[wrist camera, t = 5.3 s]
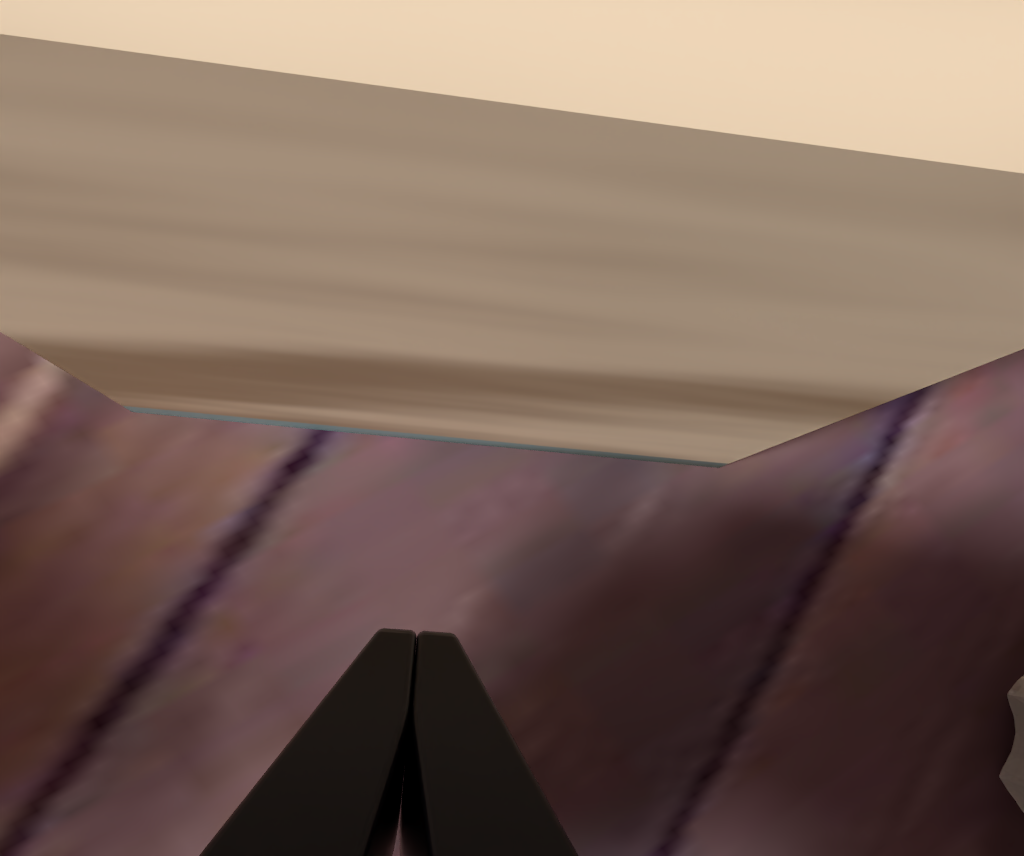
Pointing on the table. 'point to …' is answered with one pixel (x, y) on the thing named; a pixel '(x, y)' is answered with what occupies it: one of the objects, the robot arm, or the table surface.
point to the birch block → (515, 212)
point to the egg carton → (1016, 747)
